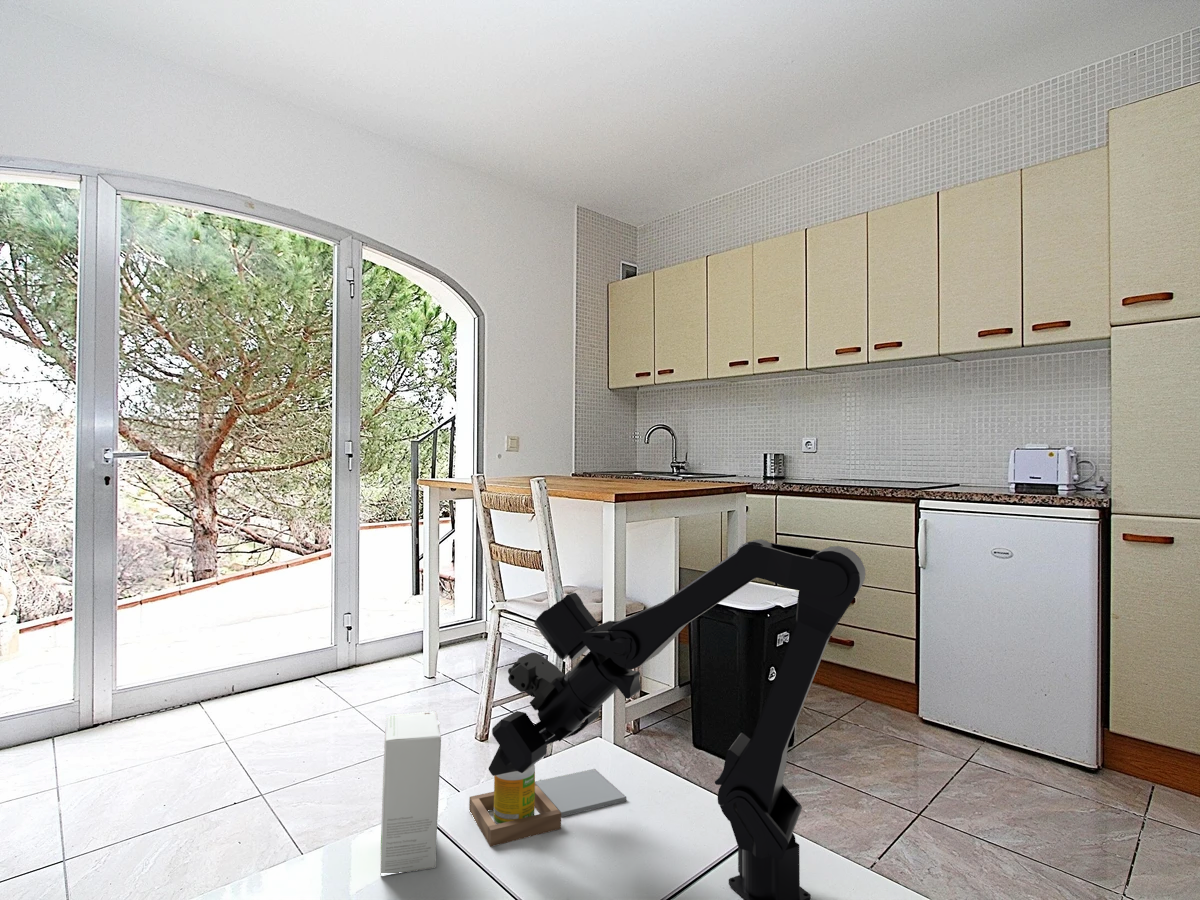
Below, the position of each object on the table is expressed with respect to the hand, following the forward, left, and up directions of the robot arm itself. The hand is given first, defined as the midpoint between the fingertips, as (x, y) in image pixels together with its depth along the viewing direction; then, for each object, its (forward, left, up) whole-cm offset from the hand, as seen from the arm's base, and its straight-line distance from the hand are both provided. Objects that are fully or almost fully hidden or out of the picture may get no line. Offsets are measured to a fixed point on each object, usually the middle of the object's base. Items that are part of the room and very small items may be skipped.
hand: (511, 758), depth 88 cm
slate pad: (+3, -11, -8) cm, 14 cm away
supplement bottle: (0, 0, -8) cm, 8 cm away
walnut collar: (0, 0, -8) cm, 8 cm away
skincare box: (-2, +14, -8) cm, 16 cm away
